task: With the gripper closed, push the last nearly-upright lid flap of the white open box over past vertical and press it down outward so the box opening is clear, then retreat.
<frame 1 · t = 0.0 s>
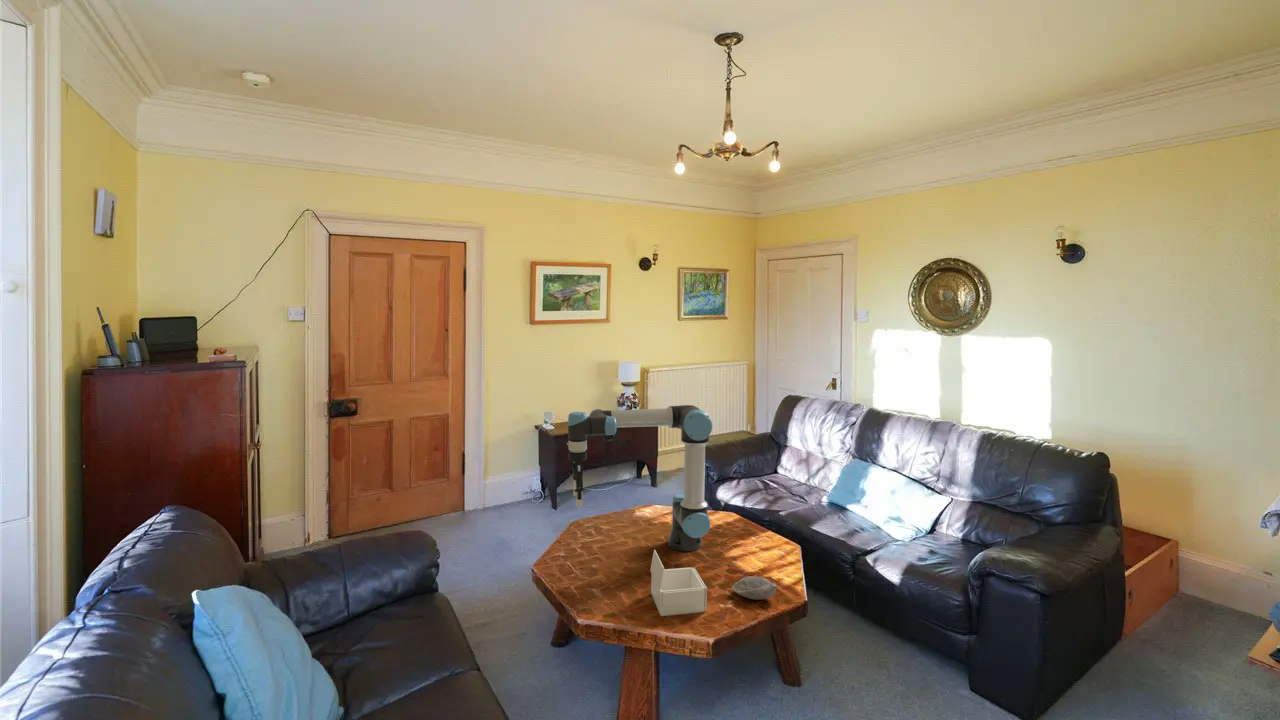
hand: (577, 500, 244), 28 cm above the table, fingers open, 13 cm apart
flap: (657, 569, 216), point 13 cm above the table, hinge at 80.0°
white open box: (677, 602, 219), on the table
seashell: (753, 597, 223), on the table
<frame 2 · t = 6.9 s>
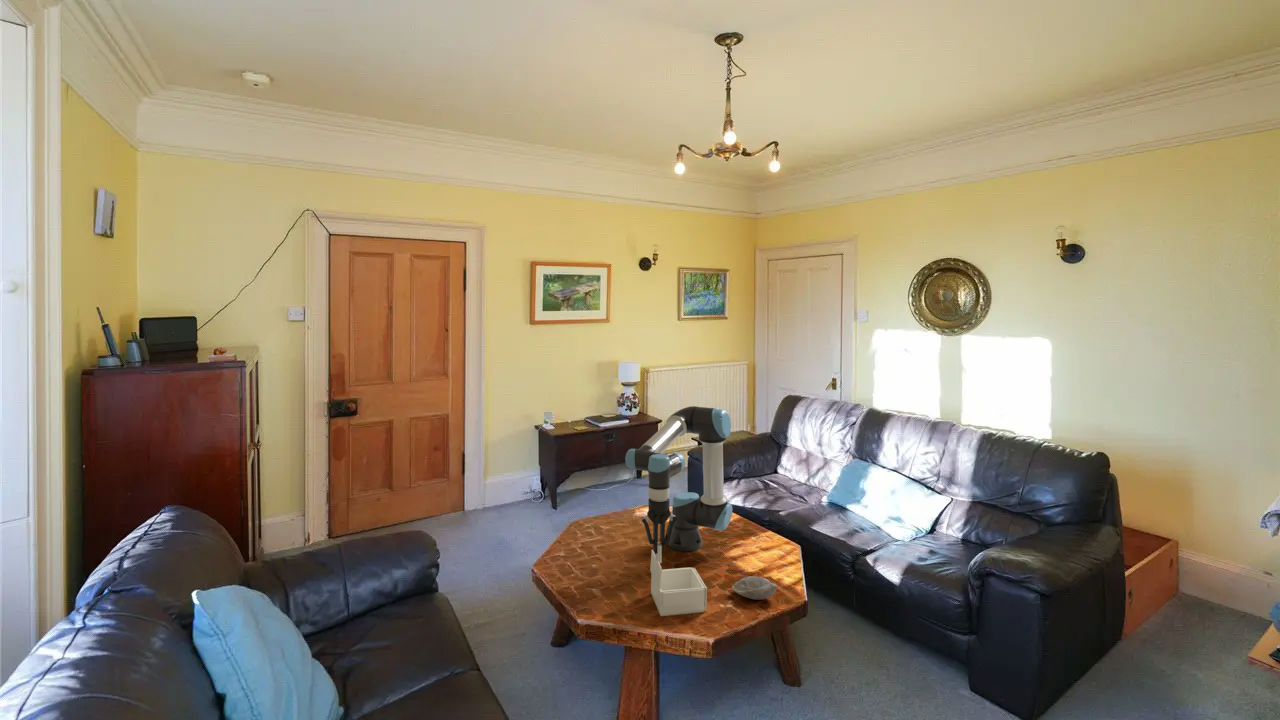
hand: (658, 561, 215), 16 cm above the table, fingers closed
flap: (655, 569, 216), point 13 cm above the table, hinge at 86.5°, touching gripper
everything else where it was.
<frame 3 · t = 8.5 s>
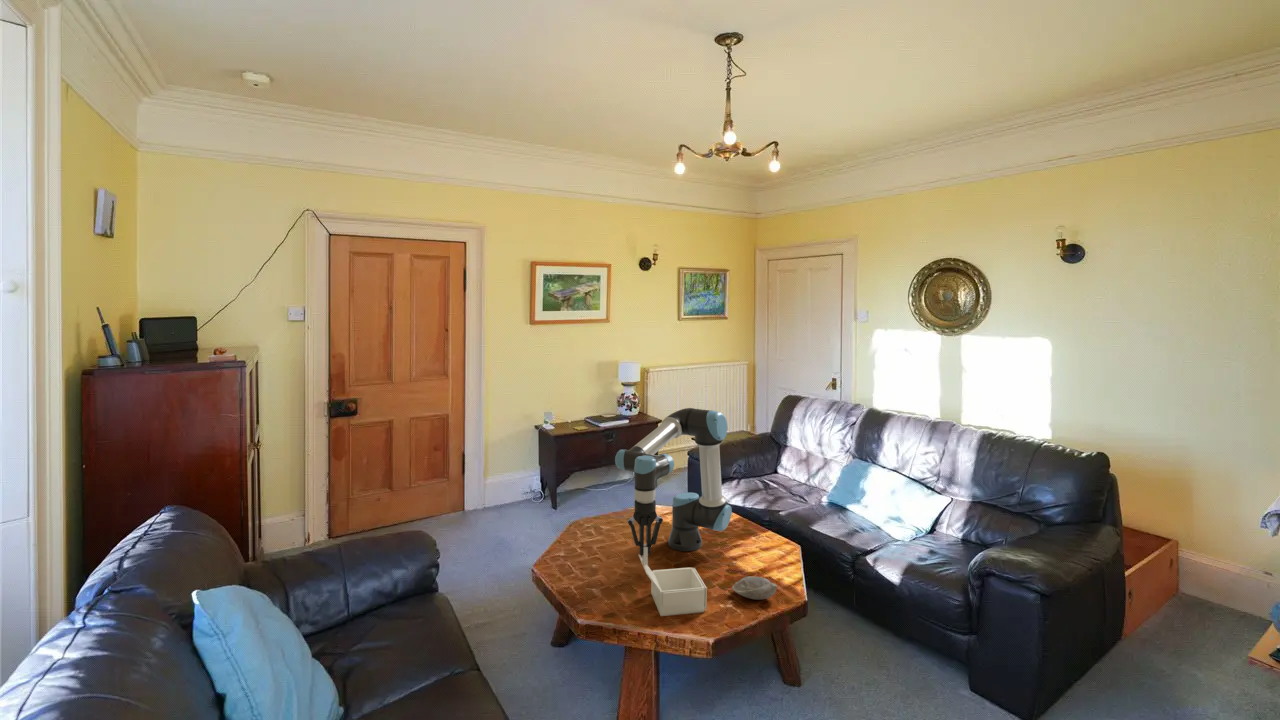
hand: (645, 563, 215), 16 cm above the table, fingers closed
flap: (648, 571, 215), point 13 cm above the table, hinge at 125.2°, touching gripper
everything else where it was.
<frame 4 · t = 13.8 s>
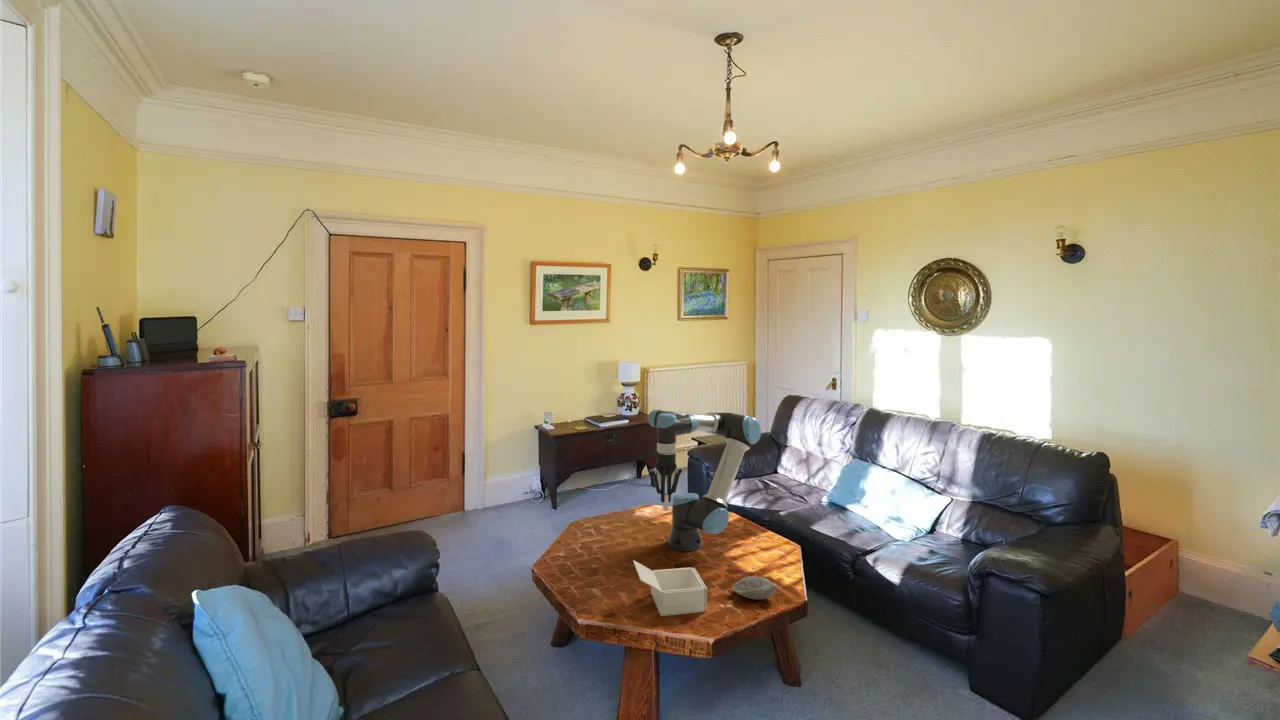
hand: (665, 509, 239), 26 cm above the table, fingers closed
flap: (645, 574, 215), point 12 cm above the table, hinge at 146.8°
everything else where it was.
at the end: flap at +147° (first picture: +80°) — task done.
